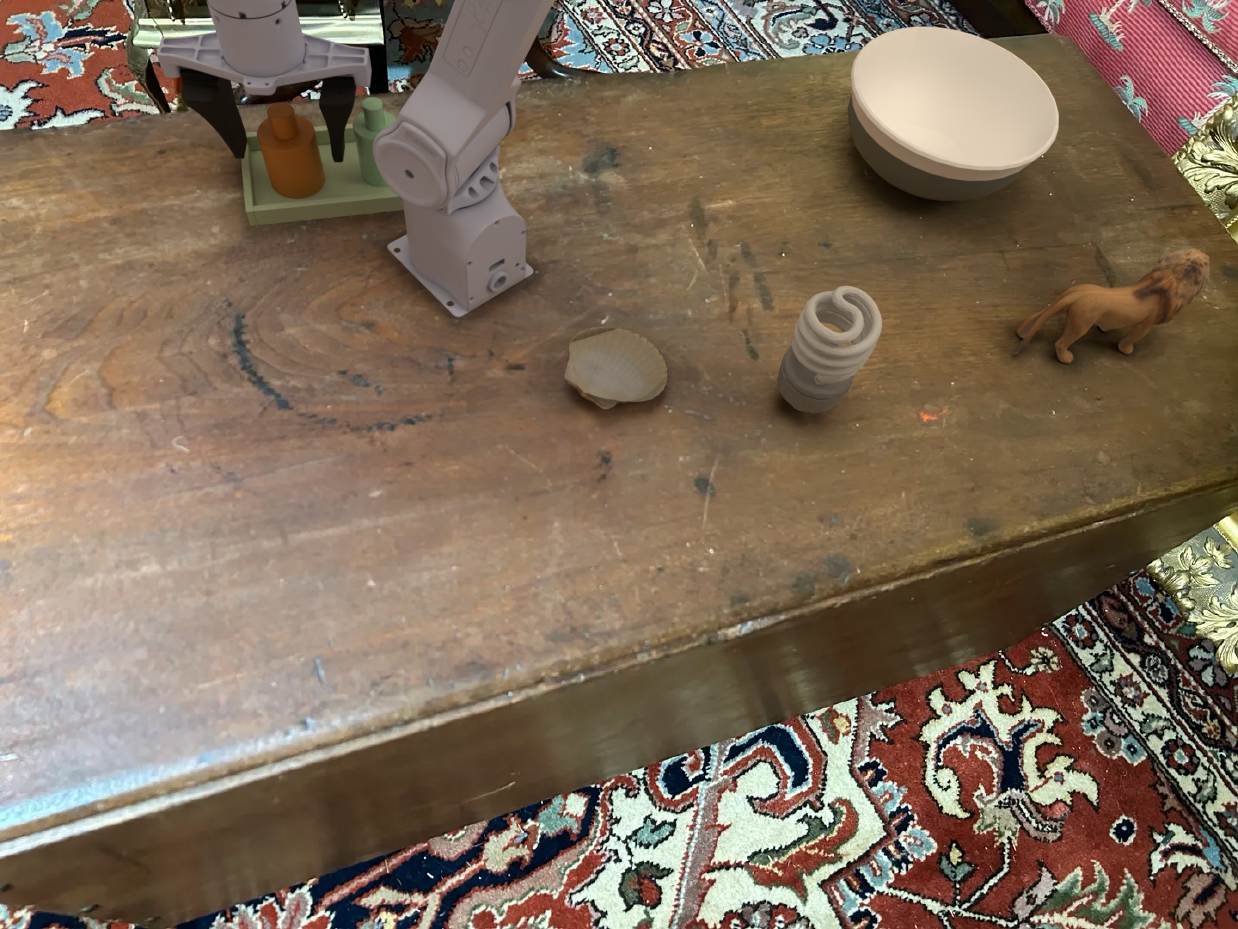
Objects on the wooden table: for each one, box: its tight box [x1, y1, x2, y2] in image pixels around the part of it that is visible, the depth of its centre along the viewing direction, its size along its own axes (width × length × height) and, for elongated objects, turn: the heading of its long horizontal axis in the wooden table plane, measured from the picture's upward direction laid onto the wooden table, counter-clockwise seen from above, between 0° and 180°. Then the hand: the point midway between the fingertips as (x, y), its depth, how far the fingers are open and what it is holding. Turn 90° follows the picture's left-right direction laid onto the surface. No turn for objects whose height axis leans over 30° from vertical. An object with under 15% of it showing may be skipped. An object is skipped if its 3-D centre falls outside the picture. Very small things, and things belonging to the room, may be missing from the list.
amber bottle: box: [256, 102, 325, 199], centre depth 73 cm, size 4×4×7 cm
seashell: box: [563, 325, 669, 411], centre depth 69 cm, size 8×3×8 cm
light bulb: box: [776, 285, 883, 414], centre depth 66 cm, size 6×6×12 cm
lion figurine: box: [1011, 247, 1211, 364], centre depth 73 cm, size 15×5×9 cm, turn 110°
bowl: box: [846, 26, 1060, 202], centre depth 83 cm, size 19×19×8 cm
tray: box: [240, 123, 404, 227], centre depth 77 cm, size 19×9×2 cm, turn 105°
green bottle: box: [352, 96, 397, 187], centre depth 74 cm, size 4×4×7 cm
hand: (290, 151), depth 73 cm, fingers open, 7 cm apart
